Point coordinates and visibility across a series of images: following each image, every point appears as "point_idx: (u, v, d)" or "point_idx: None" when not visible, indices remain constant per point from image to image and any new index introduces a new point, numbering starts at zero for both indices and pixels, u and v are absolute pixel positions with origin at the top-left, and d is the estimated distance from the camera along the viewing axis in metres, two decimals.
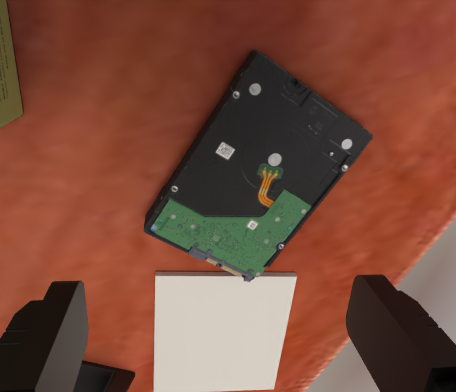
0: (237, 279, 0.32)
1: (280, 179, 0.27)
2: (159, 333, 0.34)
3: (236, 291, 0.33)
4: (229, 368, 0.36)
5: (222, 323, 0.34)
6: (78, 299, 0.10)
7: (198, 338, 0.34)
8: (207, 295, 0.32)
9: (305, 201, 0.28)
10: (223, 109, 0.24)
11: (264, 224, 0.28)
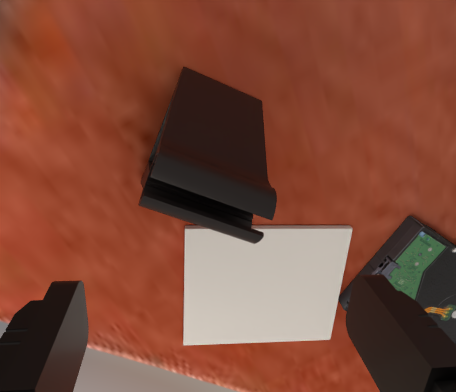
0: (335, 295, 0.34)
1: (439, 320, 0.35)
2: (279, 233, 0.31)
3: (321, 296, 0.34)
4: (219, 301, 0.33)
5: (284, 288, 0.33)
6: (78, 299, 0.10)
7: (266, 270, 0.32)
8: (321, 273, 0.33)
9: None
10: None
11: None
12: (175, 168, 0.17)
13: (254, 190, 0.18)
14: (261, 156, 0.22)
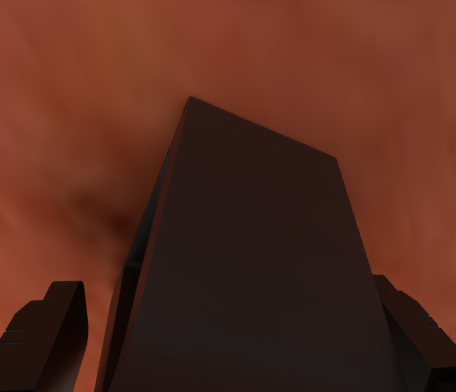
0: None
1: None
2: None
3: None
4: None
5: None
6: (78, 299, 0.10)
7: None
8: None
9: None
10: None
11: None
12: None
13: None
14: (378, 324, 0.09)
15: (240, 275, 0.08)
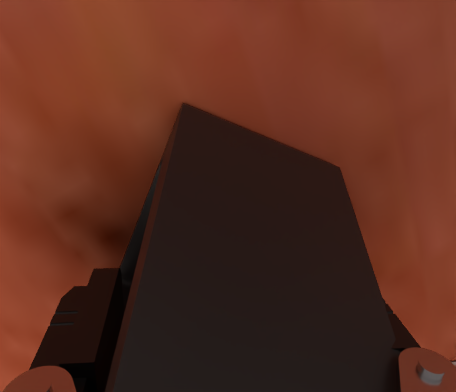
0: None
1: None
2: None
3: None
4: None
5: None
6: (118, 285, 0.11)
7: None
8: None
9: None
10: None
11: None
12: None
13: None
14: (392, 359, 0.08)
15: (238, 308, 0.07)
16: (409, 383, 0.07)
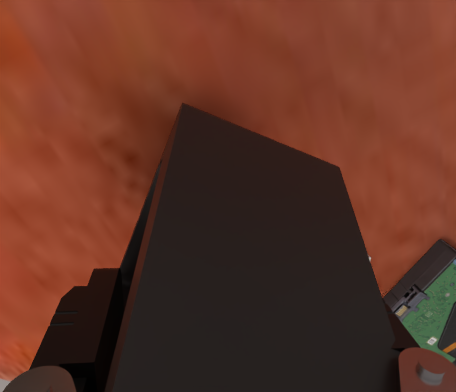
0: None
1: None
2: None
3: None
4: None
5: None
6: (118, 285, 0.11)
7: None
8: None
9: None
10: None
11: (429, 349, 0.30)
12: None
13: None
14: (391, 358, 0.08)
15: (237, 307, 0.07)
16: (409, 383, 0.07)
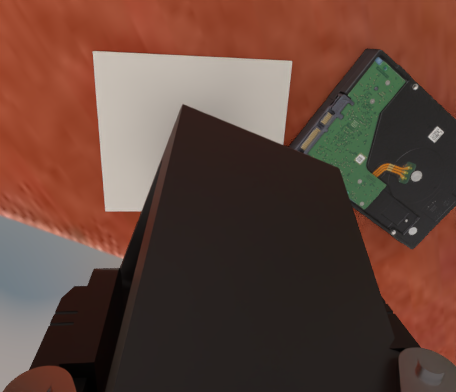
0: None
1: (397, 182, 0.31)
2: (206, 63, 0.27)
3: None
4: (143, 153, 0.29)
5: None
6: (118, 285, 0.11)
7: None
8: (260, 120, 0.29)
9: (369, 204, 0.32)
10: None
11: (358, 169, 0.30)
12: None
13: None
14: (392, 360, 0.08)
15: (238, 309, 0.07)
16: (409, 383, 0.07)
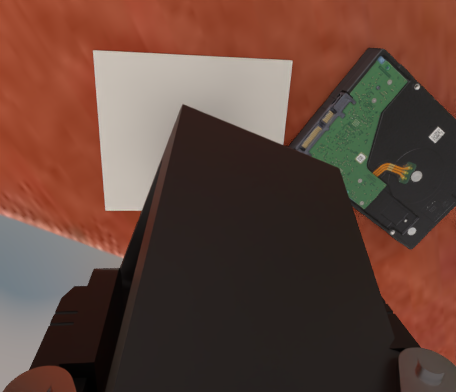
0: None
1: (397, 182, 0.31)
2: (206, 62, 0.27)
3: None
4: (143, 152, 0.29)
5: None
6: (118, 285, 0.11)
7: None
8: (260, 120, 0.29)
9: (368, 203, 0.32)
10: None
11: (358, 168, 0.30)
12: None
13: None
14: (392, 360, 0.08)
15: (238, 309, 0.07)
16: (409, 383, 0.07)
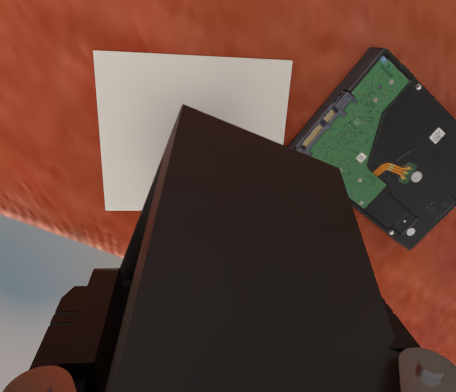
0: None
1: (397, 182, 0.31)
2: (206, 62, 0.27)
3: None
4: (143, 152, 0.29)
5: None
6: (118, 285, 0.11)
7: None
8: (260, 120, 0.29)
9: (368, 203, 0.32)
10: None
11: (358, 168, 0.30)
12: None
13: None
14: (392, 360, 0.08)
15: (238, 309, 0.07)
16: (409, 383, 0.07)
